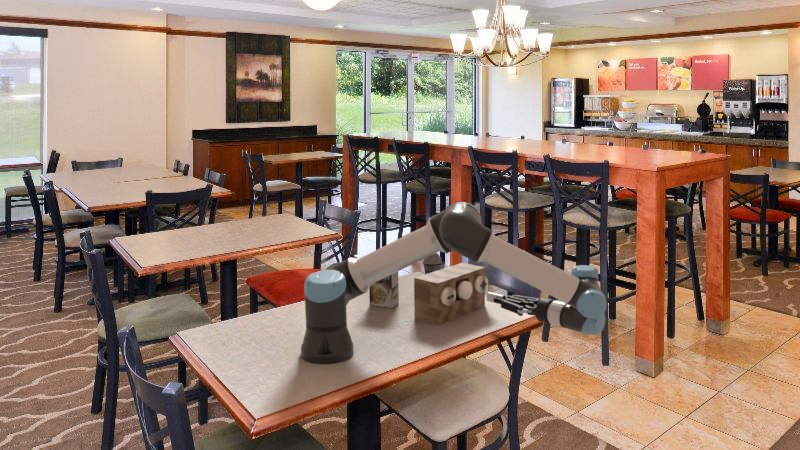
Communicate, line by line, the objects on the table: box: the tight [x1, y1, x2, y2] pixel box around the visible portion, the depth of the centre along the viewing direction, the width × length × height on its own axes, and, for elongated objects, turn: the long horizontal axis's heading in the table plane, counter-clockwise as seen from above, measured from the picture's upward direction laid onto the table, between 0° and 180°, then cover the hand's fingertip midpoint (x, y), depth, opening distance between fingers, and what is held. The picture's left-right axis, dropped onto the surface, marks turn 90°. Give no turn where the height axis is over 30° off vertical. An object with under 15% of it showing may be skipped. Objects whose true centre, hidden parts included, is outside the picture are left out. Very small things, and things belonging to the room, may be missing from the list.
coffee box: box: [368, 271, 400, 309], centre depth 228 cm, size 9×6×16 cm
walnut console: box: [413, 262, 489, 326], centre depth 219 cm, size 26×12×14 cm, turn 137°
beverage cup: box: [422, 252, 443, 275], centre depth 241 cm, size 7×7×20 cm
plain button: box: [457, 281, 473, 300], centre depth 215 cm, size 6×2×6 cm, turn 137°
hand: (488, 296), depth 209 cm, fingers closed
